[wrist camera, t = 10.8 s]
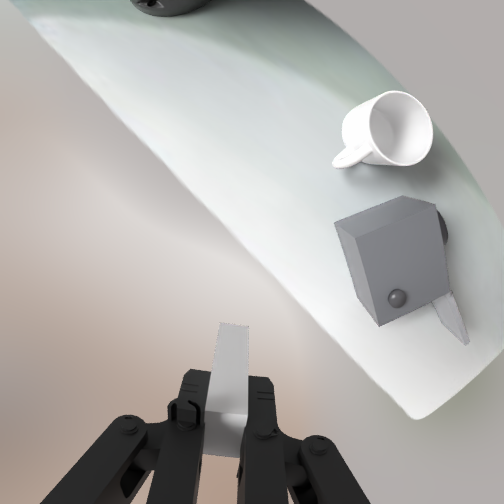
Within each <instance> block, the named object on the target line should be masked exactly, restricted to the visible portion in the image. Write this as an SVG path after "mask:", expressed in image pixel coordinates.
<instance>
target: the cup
mask: <svg viewBox="0 0 504 504" xmlns="http://www.w3.org/2000/svg"><path fill="white" fill-rule="evenodd" d="M342 138H343V141H344V144H345V146H346V148H345V149H344V150H343V151H342V152H341V153H339V154H338V155H337V156H336V157H335V158H334V160H333V166H334V167H335V168H336V169H344V168H348V167H351V166H353V165H355V164H357V163H359V162H360V161H361V162H364V163H367V164H374V165H395V166H410V165H414V164H416V163H418V162H420V161H421V160H422V159H423V158H424V157H425V156H426V155H427V154H428V152H429V150H430V148H431V145H432V141H433V126H432V122H431V119H430V116H429V114H428V112H427V110H426V109H425V107H424V106H423V105H422V104H421V103H420V102H419V101H418V100H417V99H416V98H415V97H413V96H412V95H410V94H408V93H405V92H402V91H388V92H385V93H383V94H381V95H379V96H377V97H375V98H373V99H370V100H368V101H366V102H364V103H362V104H360V105H358V106H357V107H355V108H353V109H352V110H351V111H350V112H349V113H348V114H347V116H346V117H345V119H344V121H343V125H342Z"/></svg>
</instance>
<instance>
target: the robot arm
mask: <svg viewBox="0 0 504 504" xmlns="http://www.w3.org/2000/svg"><path fill="white" fill-rule="evenodd" d="M130 1H131V2H132V3H133V5H134V6H135V7H136V8H137V9H139V10H140V11H142V12H144V13H147V14H150V15H155V16H174V15H180V14H184V13H187V12H190V11H193V10H195V9H198V8H200V7H202V6H203V5H205V4H207V3H208V2H210V1H211V0H130ZM248 329H249V326H244V325H236V324H227V323H220V326H219V331H218V337H217V342H216V349H215V354H214V360H213V365H212V371H211V372H208V371H201V370H195V369H190V370H189V371H188V372H187V373H186V374H185V375H184V377H183V381H182V384H181V388H180V391H179V395H178V398H176V399H174V400H172V401H171V402H170V403H169V405H168V419H167V420H166V421H163V422H160V423H145V422H144V421H143V420H142V419H141V418H139V417H137V416H134V415H123V416H120V417H118V418H116V419H115V420H114V421H113V422H112V423H111V424H110V425H109V426H108V428H107V429H106V430H105V431H104V432H103V433H102V435H101V436H100V437H99V438H98V439H97V440H96V441H95V442H94V443H93V445H92V446H91V447H90V448H89V449H88V450H87V451H86V452H85V454H84V455H83V456H82V457H81V458H80V459H79V460H78V462H77V463H76V464H75V465H74V466H73V467H72V468H71V470H70V471H69V472H68V473H67V474H66V475H65V476H64V477H63V478H62V480H61V481H60V482H59V483H58V484H57V485H56V486H55V488H54V489H53V490H52V491H51V492H50V493H49V494H48V495H47V496H46V498H45V499H44V500H43V501H42V502H41V503H40V504H130V503H131V502H132V500H133V499H134V497H135V496H136V494H137V493H138V491H139V489H140V488H141V486H142V485H143V483H144V482H145V480H146V479H147V477H148V476H149V474H150V473H151V470H155V471H154V476H153V479H152V483H151V487H150V491H149V495H148V498H147V502H146V504H196V503H197V496H198V488H199V480H200V473H201V465H202V454H208V455H216V456H225V457H235V458H239V457H240V463H239V468H238V473H237V478H238V492H237V504H289V503H288V493H287V488H288V490H289V493H290V495H291V497H292V500H293V502H294V504H370V502H369V500H368V499H367V497H366V495H365V494H364V492H363V490H362V489H361V487H360V486H359V484H358V482H357V481H356V479H355V477H354V476H353V474H352V472H351V471H350V469H349V468H348V466H347V464H346V463H345V461H344V459H343V458H342V456H341V454H340V453H339V451H338V450H337V448H336V446H335V444H334V443H333V442H332V441H331V440H330V439H328V438H326V437H324V436H319V435H313V436H310V437H307V438H305V439H304V440H303V441H302V440H298V439H295V438H292V437H289V436H287V435H286V434H284V433H283V432H282V431H281V430H280V429H279V427H278V424H277V416H276V406H275V396H274V386H273V384H272V382H271V381H270V379H269V378H268V377H257V376H248V339H249V338H248V335H249V330H248Z"/></svg>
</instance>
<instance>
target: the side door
mask: <svg viewBox="0 0 504 504" xmlns="http://www.w3.org/2000/svg"><path fill="white" fill-rule="evenodd" d="M432 302H433V305H434V307H435V309H436V311H437V313H438V316H439V318H440V320H441V323H442V324H443V325H444V326H445V327H447V328H448V329H449V330H450V331H451V332H452V333H453V334H454V335H455V336H456V337H457V338H458V339H459V340H460V341H461V342H462V343H463V344H464V345H465V346H466V345H467V344H468V343H469V342H470V341H469V338H468V335H467V332H466V329H465V326H464V323H463V320H462V317H461V315H460V312H459V309H458V307H457V304H456V301H455V299H454V296H453V292H452V291H451V290H450V292H449V293H447V294H445V295H443V296H441V297H439V298H437V299H435V300H433V301H432Z"/></svg>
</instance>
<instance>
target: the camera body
mask: <svg viewBox="0 0 504 504" xmlns="http://www.w3.org/2000/svg"><path fill="white" fill-rule="evenodd" d="M334 224H335V227H336V230H337V233H338V236H339V239H340V242H341V245H342V248H343V251H344V255H345V258H346V261H347V264H348V267H349V271H350V274H351V277H352V280H353V284H354V287H355V291H356V294H357V298H358V299H359V300H360V302H361V303H362V304H363V306H364V307H365V308H366V310H367V311H368V312H369V314H370V315H371V317H372V318H373V319H374V321H375V322H376V323H377V325H378V326H379V327H380V326H382V325H384V324H386V323H388V322H391V321H393V320H395V319H397V318H399V317H401V316H403V315H405V314H408V313H410V312H412V311H414V310H416V309H418V308H420V307H422V306H424V305H426V304H428V303H430V302H432V301H433V300H435V299H437V298H439V297H441V296H443V295H445V294H447V293H449V292H450V285H449V277H448V270H447V263H446V257H445V250H444V245H445V244H446V243H447V240H448V232H447V228H446V224H445V222H444V220H443V218H442V216H441V214H440V213H439V212H438V211H437V210H436V205H435V204H432V203H429V202H425V201H421V200H418V199H414V198H410V197H406V196H400V197H397V198H395V199H392V200H390V201H387V202H385V203H382V204H380V205H377V206H375V207H372V208H370V209H367V210H365V211H362V212H360V213H357V214H355V215H352V216H350V217H347V218H345V219H342V220H340V221H337V222H335V223H334Z"/></svg>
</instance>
